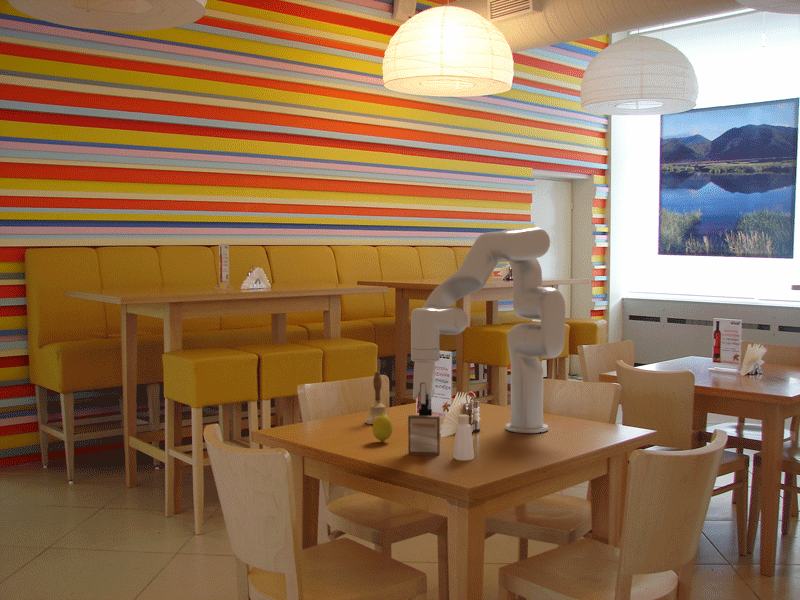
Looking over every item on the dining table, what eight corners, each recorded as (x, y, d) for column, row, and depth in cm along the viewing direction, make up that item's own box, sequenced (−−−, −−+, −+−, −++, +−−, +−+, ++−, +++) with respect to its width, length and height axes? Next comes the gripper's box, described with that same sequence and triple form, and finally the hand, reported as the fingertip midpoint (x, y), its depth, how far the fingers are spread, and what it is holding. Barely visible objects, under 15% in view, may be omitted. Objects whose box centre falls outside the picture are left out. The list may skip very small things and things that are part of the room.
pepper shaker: (448, 458, 194) (448, 415, 194) (462, 454, 198) (462, 412, 198) (464, 462, 191) (464, 418, 190) (478, 458, 194) (478, 415, 194)
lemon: (385, 445, 209) (385, 416, 208) (368, 443, 212) (368, 414, 211) (396, 441, 213) (396, 413, 213) (379, 439, 216) (379, 411, 216)
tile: (409, 453, 200) (409, 415, 200) (439, 453, 199) (439, 415, 199) (408, 454, 198) (408, 416, 198) (439, 455, 197) (439, 417, 197)
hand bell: (391, 425, 236) (390, 373, 235) (364, 425, 236) (363, 373, 235) (391, 419, 244) (391, 370, 244) (365, 419, 244) (365, 370, 244)
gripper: (414, 351, 209) (414, 418, 210) (407, 358, 194) (407, 429, 195) (442, 352, 208) (442, 418, 209) (436, 358, 193) (436, 430, 194)
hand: (425, 423), depth 202 cm, fingers closed
